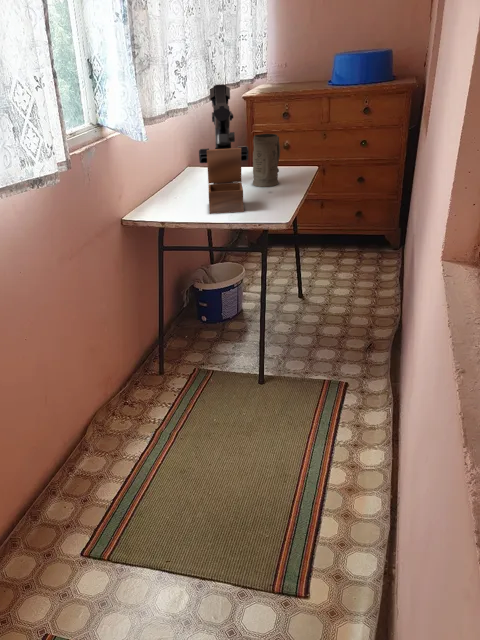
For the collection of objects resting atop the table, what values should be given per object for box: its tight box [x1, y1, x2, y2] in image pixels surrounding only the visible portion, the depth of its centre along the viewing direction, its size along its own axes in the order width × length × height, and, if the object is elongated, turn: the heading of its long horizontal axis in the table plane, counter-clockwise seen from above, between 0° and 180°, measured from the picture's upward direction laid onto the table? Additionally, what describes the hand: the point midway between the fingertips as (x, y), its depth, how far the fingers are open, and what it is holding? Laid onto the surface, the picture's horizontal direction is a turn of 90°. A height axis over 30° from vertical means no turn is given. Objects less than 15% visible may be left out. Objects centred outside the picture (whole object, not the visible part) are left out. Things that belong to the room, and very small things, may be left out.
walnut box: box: [207, 181, 245, 215], centre depth 227 cm, size 13×13×8 cm
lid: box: [206, 147, 242, 185], centre depth 225 cm, size 13×13×1 cm
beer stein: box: [252, 133, 281, 188], centre depth 255 cm, size 15×11×20 cm
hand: (224, 174), depth 229 cm, fingers closed, pressing on lid
